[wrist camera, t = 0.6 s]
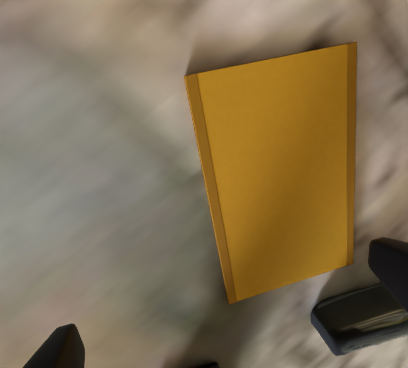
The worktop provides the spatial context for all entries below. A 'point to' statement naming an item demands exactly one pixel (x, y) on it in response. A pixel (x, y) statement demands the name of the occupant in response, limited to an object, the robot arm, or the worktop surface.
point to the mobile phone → (359, 319)
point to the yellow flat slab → (279, 165)
